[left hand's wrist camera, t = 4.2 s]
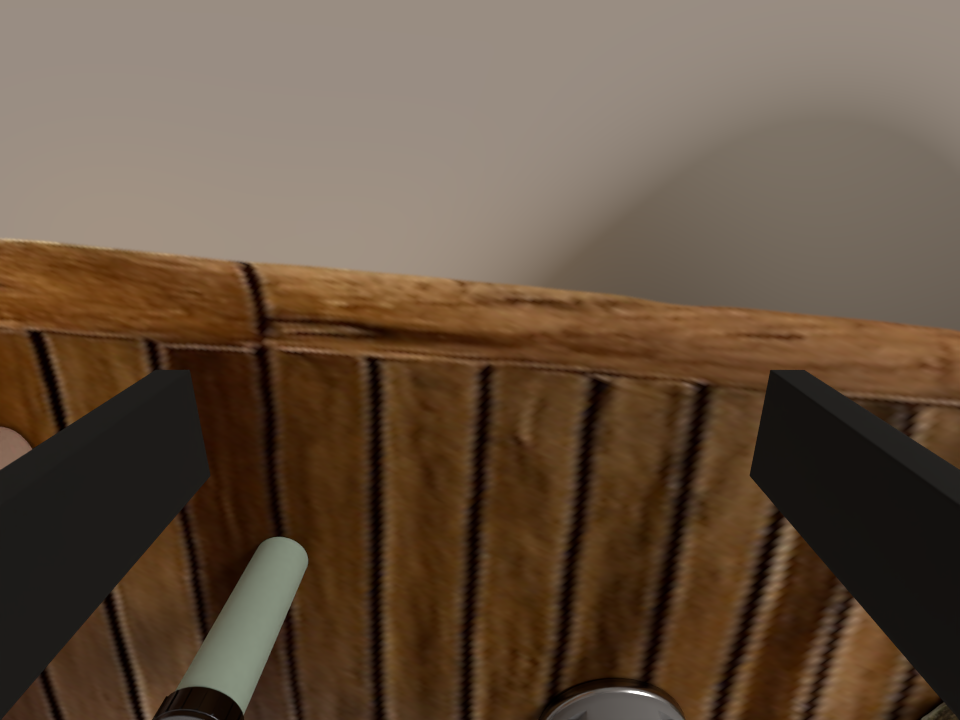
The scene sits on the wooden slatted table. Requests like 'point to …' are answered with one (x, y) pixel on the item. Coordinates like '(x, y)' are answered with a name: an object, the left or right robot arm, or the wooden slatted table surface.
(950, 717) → the fossil
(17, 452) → the anatomical model
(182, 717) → the lid
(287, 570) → the pale green cylinder
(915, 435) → the wooden slatted table surface
